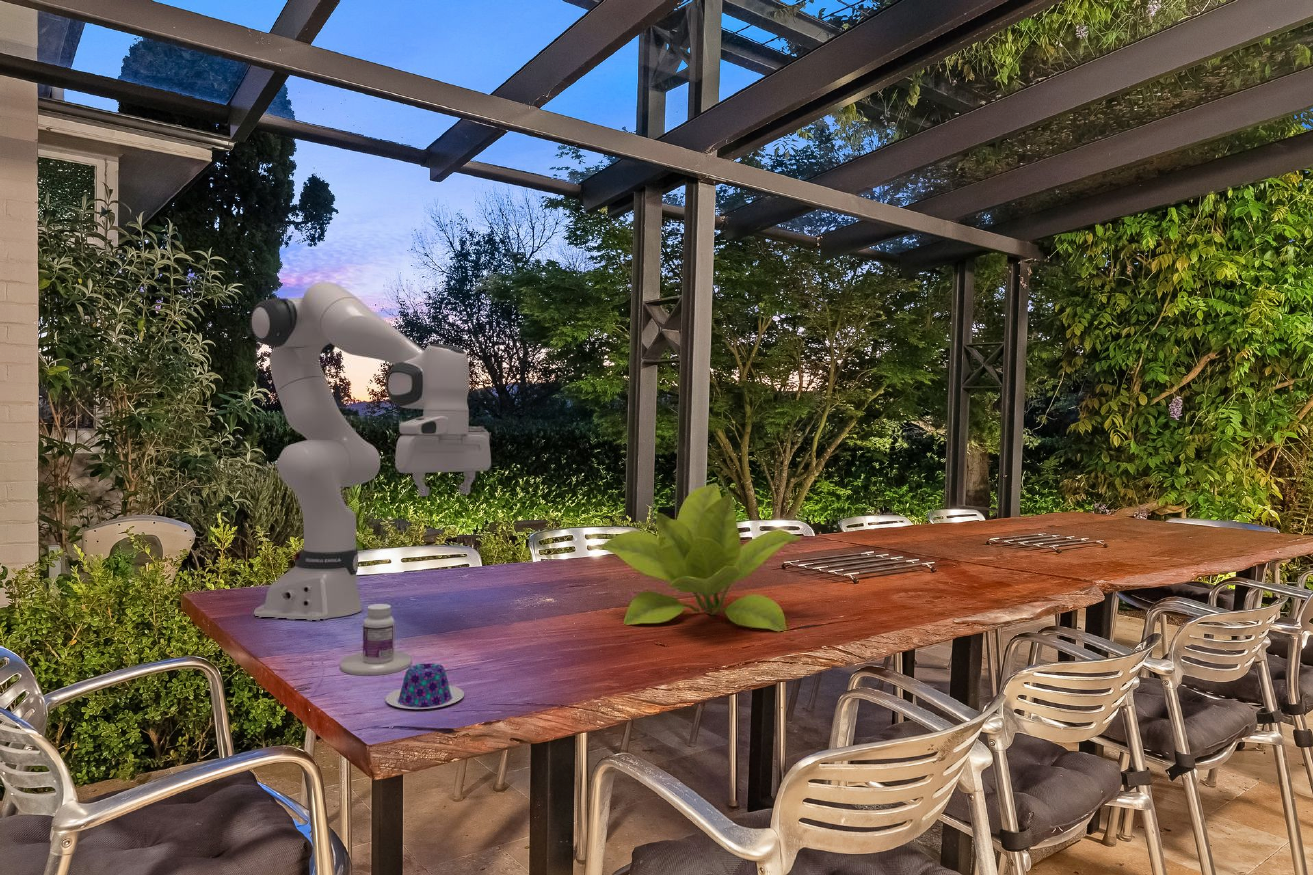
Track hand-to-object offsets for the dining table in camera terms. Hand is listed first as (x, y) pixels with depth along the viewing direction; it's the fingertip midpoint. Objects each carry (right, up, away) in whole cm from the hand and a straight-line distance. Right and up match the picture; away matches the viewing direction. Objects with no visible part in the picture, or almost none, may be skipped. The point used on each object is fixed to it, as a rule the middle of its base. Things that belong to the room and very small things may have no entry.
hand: (444, 494), depth 167 cm
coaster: (-8, -29, -18) cm, 35 cm away
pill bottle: (-7, -28, -18) cm, 34 cm away
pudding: (+6, -30, -35) cm, 47 cm away
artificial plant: (+53, -30, +22) cm, 65 cm away
